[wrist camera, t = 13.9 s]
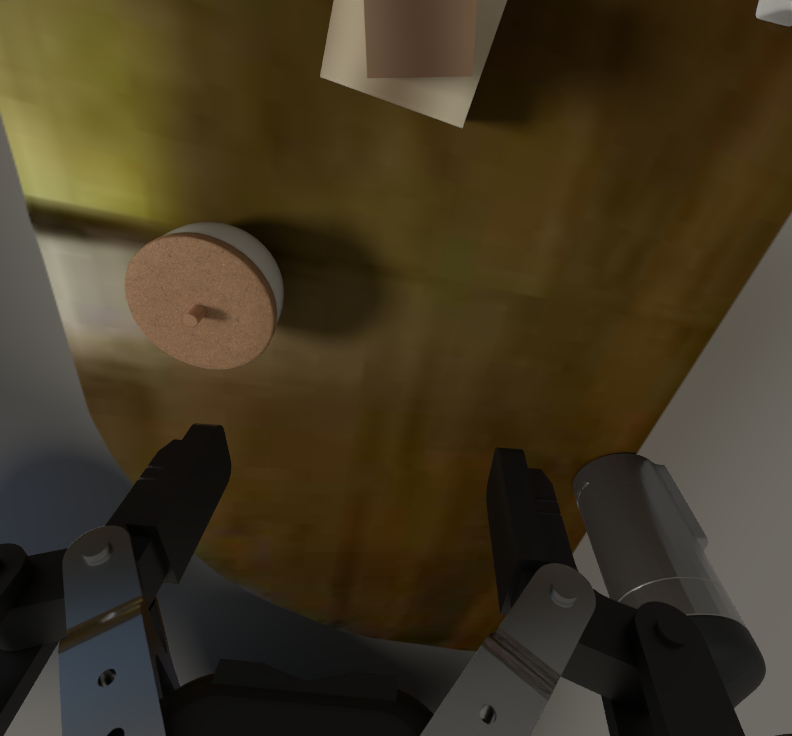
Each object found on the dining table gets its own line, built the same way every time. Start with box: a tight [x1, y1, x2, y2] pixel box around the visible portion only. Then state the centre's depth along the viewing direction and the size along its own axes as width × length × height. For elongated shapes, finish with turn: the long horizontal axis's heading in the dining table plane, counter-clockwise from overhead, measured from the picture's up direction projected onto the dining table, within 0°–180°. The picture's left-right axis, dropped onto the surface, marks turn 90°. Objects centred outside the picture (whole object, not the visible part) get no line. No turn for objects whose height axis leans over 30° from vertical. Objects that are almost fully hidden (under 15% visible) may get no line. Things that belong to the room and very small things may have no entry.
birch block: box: [320, 0, 507, 128], centre depth 27 cm, size 9×9×5 cm
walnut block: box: [364, 0, 477, 78], centre depth 23 cm, size 5×5×6 cm
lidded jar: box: [125, 222, 284, 369], centre depth 35 cm, size 11×11×9 cm
